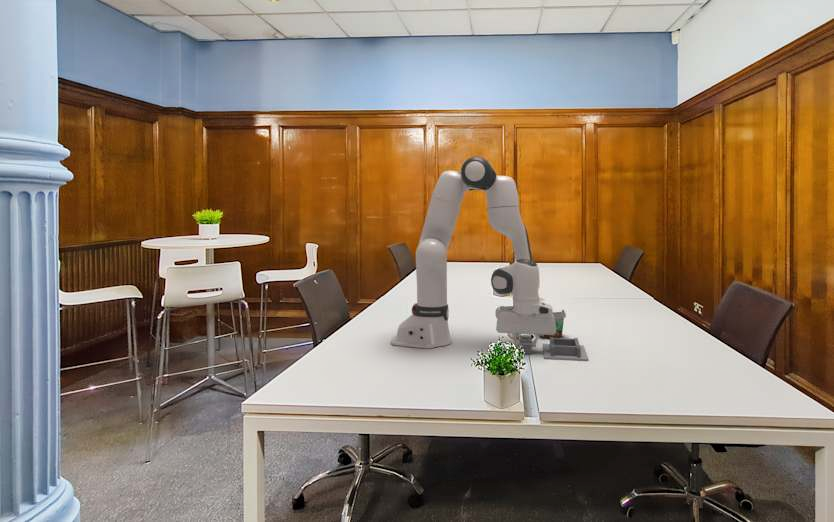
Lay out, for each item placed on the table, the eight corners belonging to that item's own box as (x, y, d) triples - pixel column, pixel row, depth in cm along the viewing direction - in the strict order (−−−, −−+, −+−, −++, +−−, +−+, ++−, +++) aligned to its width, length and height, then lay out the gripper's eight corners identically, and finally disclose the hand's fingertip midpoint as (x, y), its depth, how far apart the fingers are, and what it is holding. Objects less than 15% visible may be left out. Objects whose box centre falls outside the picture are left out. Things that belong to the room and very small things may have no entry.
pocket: (543, 358, 171) (544, 348, 171) (542, 345, 187) (543, 335, 187) (588, 361, 168) (588, 350, 168) (583, 347, 184) (583, 337, 184)
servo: (519, 354, 176) (519, 339, 176) (519, 347, 185) (519, 333, 185) (531, 355, 175) (531, 340, 175) (531, 347, 184) (531, 333, 184)
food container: (542, 341, 193) (542, 314, 192) (534, 337, 199) (534, 311, 198) (571, 338, 196) (572, 312, 195) (563, 334, 202) (563, 309, 201)
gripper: (494, 307, 178) (494, 347, 180) (556, 309, 174) (556, 349, 175) (496, 304, 184) (496, 342, 186) (555, 305, 180) (555, 344, 181)
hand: (525, 346), depth 180 cm, fingers closed on servo, 4 cm apart
